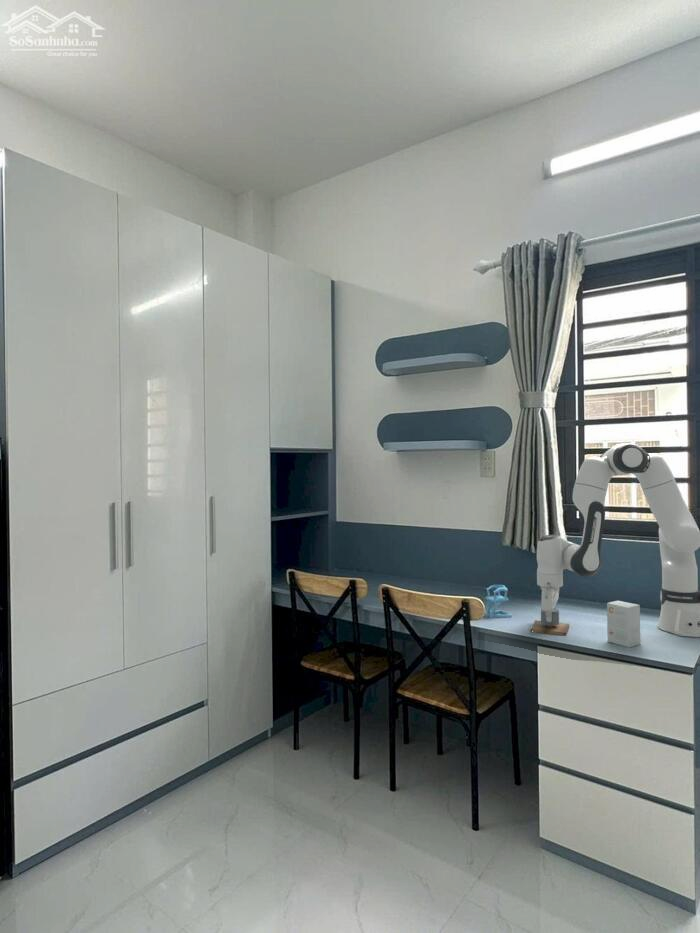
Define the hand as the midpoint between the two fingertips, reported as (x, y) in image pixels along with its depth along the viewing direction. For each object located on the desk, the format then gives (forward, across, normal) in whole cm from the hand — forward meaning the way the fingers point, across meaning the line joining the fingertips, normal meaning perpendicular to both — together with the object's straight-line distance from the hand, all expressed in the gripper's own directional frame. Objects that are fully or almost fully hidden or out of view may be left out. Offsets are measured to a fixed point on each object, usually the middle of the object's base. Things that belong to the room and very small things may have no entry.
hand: (550, 618), depth 211 cm
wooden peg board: (+4, 0, 0) cm, 4 cm away
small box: (+4, -7, -24) cm, 25 cm away
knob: (+2, 0, 0) cm, 2 cm away
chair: (+4, +11, +21) cm, 24 cm away
